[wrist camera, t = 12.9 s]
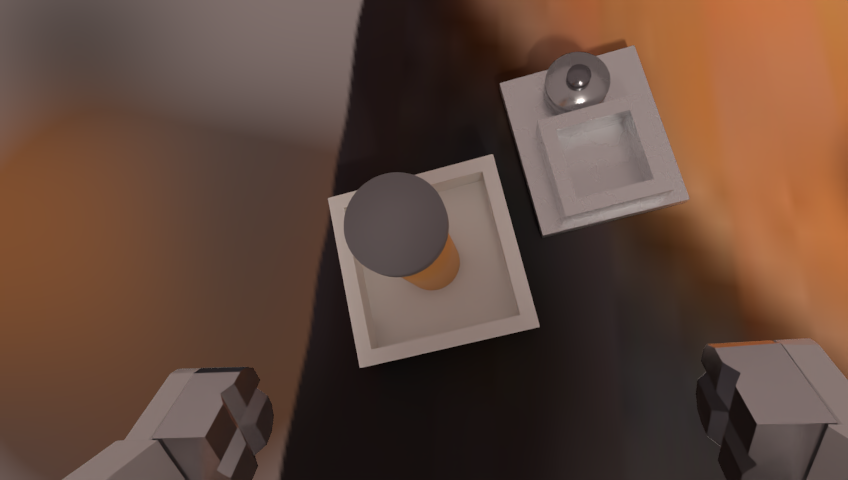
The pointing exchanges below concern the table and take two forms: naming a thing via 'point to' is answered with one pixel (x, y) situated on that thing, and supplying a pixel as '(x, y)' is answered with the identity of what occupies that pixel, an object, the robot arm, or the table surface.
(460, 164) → the tray
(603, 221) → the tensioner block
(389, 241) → the lock pin
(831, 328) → the table surface
